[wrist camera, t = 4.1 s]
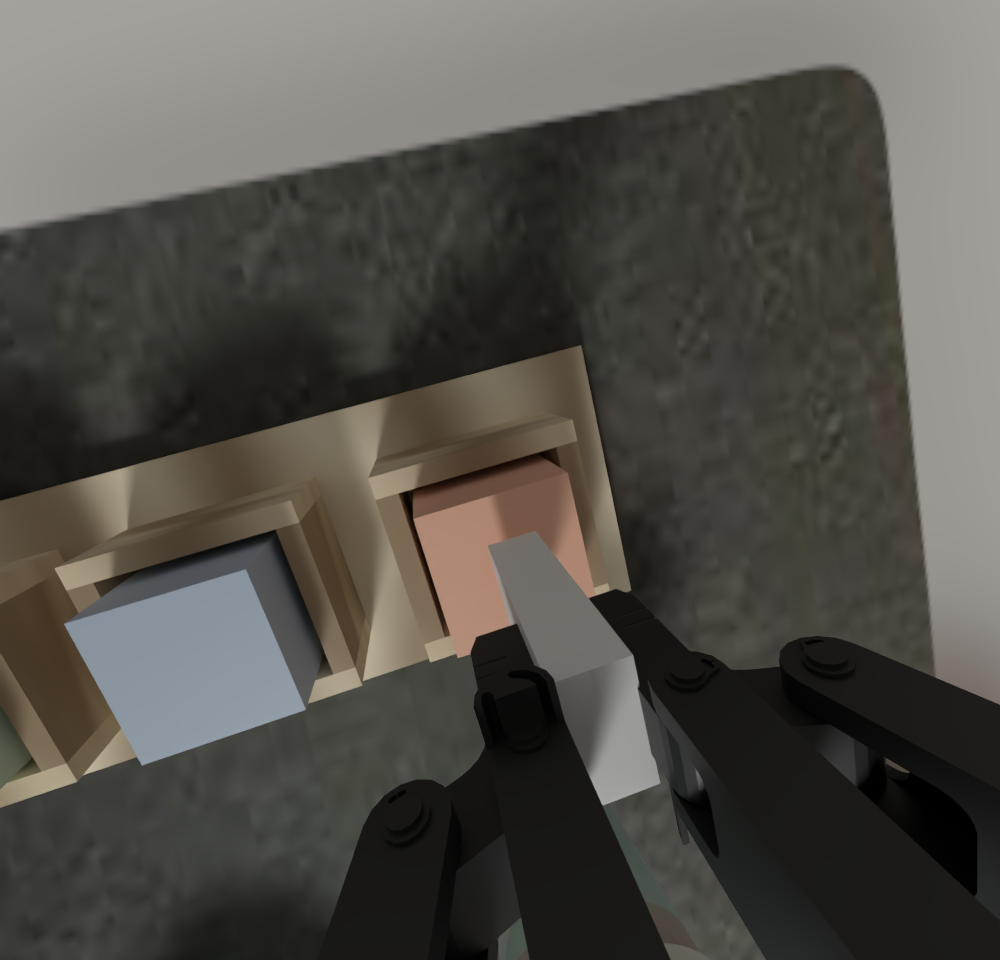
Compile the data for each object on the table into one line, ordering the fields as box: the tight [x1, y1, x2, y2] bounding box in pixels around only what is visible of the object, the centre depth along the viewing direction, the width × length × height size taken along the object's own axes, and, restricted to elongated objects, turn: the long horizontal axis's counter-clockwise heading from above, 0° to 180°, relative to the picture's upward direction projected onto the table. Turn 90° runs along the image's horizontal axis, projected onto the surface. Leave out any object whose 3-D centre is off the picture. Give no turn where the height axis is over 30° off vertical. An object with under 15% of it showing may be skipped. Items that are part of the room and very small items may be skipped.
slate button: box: [64, 530, 324, 765], centre depth 16 cm, size 5×5×4 cm
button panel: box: [0, 346, 631, 808], centre depth 19 cm, size 32×12×5 cm, turn 104°
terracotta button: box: [413, 453, 596, 658], centre depth 17 cm, size 5×5×4 cm
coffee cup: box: [499, 803, 710, 960], centre depth 21 cm, size 8×8×12 cm
